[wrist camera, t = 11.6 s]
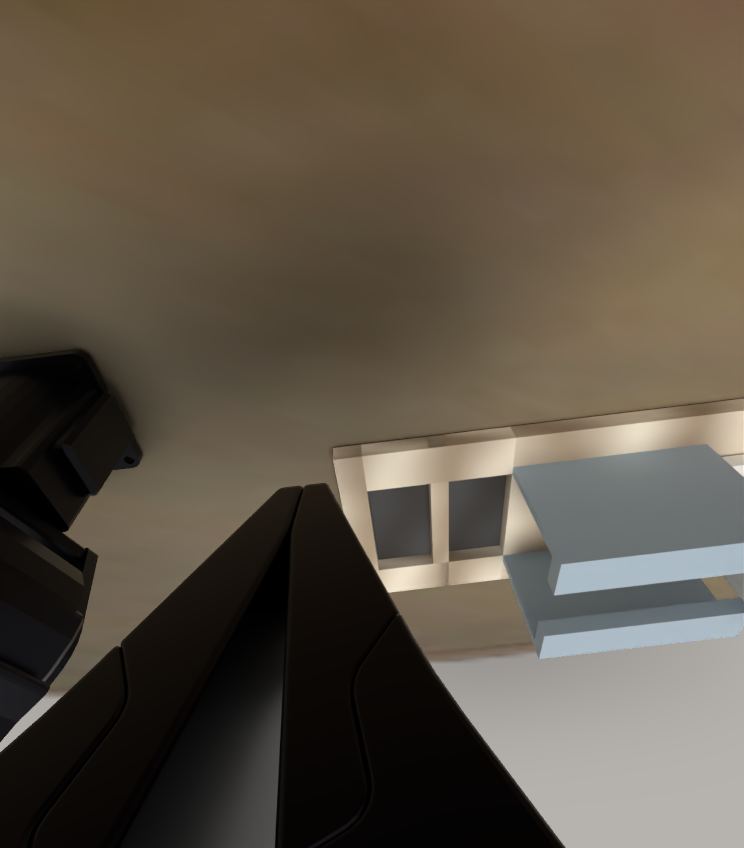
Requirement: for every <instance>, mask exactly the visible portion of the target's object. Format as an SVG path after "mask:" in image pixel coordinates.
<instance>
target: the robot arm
mask: <svg viewBox="0 0 744 848" xmlns="http://www.w3.org/2000/svg"><path fill="white" fill-rule="evenodd" d="M74 359H77V360H79V361H80V362H81V363H82V365H80V364H78V363H76V361H75V360H74ZM128 456H130V457H132V458H133V459H131V458H129V457H128ZM141 460H142V454H141V452H140V450H139V448H138V446H137V444H136V442H135V440H134V438H133V433H132V431H131V429H130V427H129V426H128V424H127V422H126V420H125V418H124V416H123V414H122V412H121V410H120V408H119V406H118V404H117V402H116V401H115V399H114V397H113V395H112V394H111V393H110V392H109V391H108V389H107V387H106V385H105V383H104V381H103V379H102V377H101V375H100V373H99V372H98V370H97V368H96V366H95V364H94V362H93V360H92V358H91V357H90V356H89V355H88V354H87V353H86V352H84V351H81V350H68V351H60V352H52V353H44V354H35V355H27V356H19V357H11V358H3V359H0V742H1V741H2V740H3V738H4V737H5V736H6V735H7V734H8V733H9V731H10V730H11V729H12V728H13V727H14V725H15V724H16V723H17V722H18V721H19V720H20V719H21V718H22V717H23V716H24V715H25V714H26V713H27V712H28V711H29V710H30V709H31V708H32V707H33V706H35V705H36V703H38V702H39V701H40V700H41V699H42V698H43V697H44V696H45V695H46V693H47V692H48V690H49V688H50V685H51V684H52V682H53V681H54V680H55V678H56V677H57V676H58V675H59V673H60V672H61V671H62V669H63V668H64V666H65V665H66V663H67V662H68V660H69V659H70V657H71V655H72V653H73V651H74V649H75V647H76V645H77V643H78V641H79V638H80V635H81V632H82V627H83V623H84V618H85V614H86V609H87V604H88V600H89V595H90V591H91V586H92V582H93V577H94V572H95V568H96V563H97V559H98V555H97V554H95V553H94V552H93V551H91V550H90V549H89V548H85V549H84V548H83V547H81V546H80V545H79V544H77V543H76V542H75V541H73V540H72V539H71V538H69V537H68V536H66V535H65V534H64V533H62V532H66V531H68V529H69V528H70V526H71V525H72V523H73V522H74V520H75V518H76V517H77V515H78V514H79V512H80V511H81V509H82V508H83V506H84V505H85V503H86V501H87V500H88V498H89V497H90V496H94V495H97V494H98V492H99V491H100V489H101V488H102V486H103V484H104V483H105V481H106V480H107V478H108V477H109V475H110V473H111V472H112V470H117V469H126V468H134V467H137V466H138V465H139V464H140V462H141ZM0 848H565V846H564V845H563V844H562V843H561V841H560V840H559V839H558V837H557V836H556V835H555V833H554V832H553V831H552V829H551V828H550V827H549V825H548V824H547V823H546V821H545V820H544V819H543V817H542V816H541V815H540V813H539V812H538V811H537V809H536V808H535V807H534V805H533V804H532V803H531V801H530V800H529V799H528V797H527V796H526V795H525V793H524V792H523V791H522V790H521V788H520V787H519V785H518V784H517V783H516V782H515V780H514V779H513V778H512V776H511V775H510V774H509V772H508V771H507V770H506V768H505V767H504V766H503V764H502V763H501V762H500V760H499V759H498V758H497V756H496V755H495V754H494V752H493V751H492V750H491V748H490V747H489V746H488V745H487V743H486V742H485V741H484V739H483V738H482V736H481V735H480V734H479V732H478V731H477V730H476V728H475V727H474V726H473V725H472V723H471V722H470V721H469V719H468V718H467V717H466V715H465V714H464V712H463V711H462V710H461V708H460V707H459V705H458V704H457V702H456V701H455V700H454V698H453V697H452V695H451V694H450V692H449V691H448V690H447V688H446V687H445V685H444V684H443V683H442V681H441V680H440V678H439V677H438V675H437V674H436V673H435V671H434V669H433V668H432V666H431V664H430V663H429V661H428V659H427V658H426V656H425V655H424V653H423V651H422V650H421V648H420V646H419V645H418V643H417V641H416V640H415V638H414V636H413V635H412V633H411V631H410V629H409V627H408V626H407V624H406V622H405V620H404V619H403V617H402V616H401V615H400V613H399V611H398V609H397V607H396V606H395V604H394V602H393V600H392V599H391V597H390V595H389V593H388V591H387V590H386V588H385V586H384V584H383V582H382V581H381V579H380V577H379V575H378V573H377V572H376V570H375V568H374V566H373V565H372V563H371V561H370V559H369V557H368V556H367V554H366V552H365V550H364V548H363V547H362V545H361V543H360V541H359V539H358V538H357V536H356V534H355V532H354V531H353V529H352V527H351V525H350V523H349V522H348V520H347V518H346V516H345V514H344V513H343V511H342V509H341V507H340V505H339V504H338V502H337V500H336V498H335V497H334V495H333V493H332V491H331V489H330V488H329V486H328V485H327V484H326V483H320V484H311V485H306V486H305V487H304V488H303V487H301V486H293V487H284V488H280V489H279V490H277V491H276V492H275V493H274V494H273V495H272V496H271V497H270V498H269V499H268V500H267V501H266V502H265V503H264V504H263V505H262V506H261V507H260V508H259V509H258V510H257V511H256V512H255V513H254V514H253V515H252V516H251V517H250V518H249V519H248V520H246V521H245V522H244V523H243V524H242V525H241V526H240V527H239V528H238V529H237V530H236V531H235V532H234V533H233V534H232V535H231V536H230V537H229V538H228V539H227V540H226V541H225V542H224V543H223V544H222V545H221V546H220V547H219V548H218V549H217V550H216V551H215V552H213V553H212V554H211V555H210V556H209V557H208V558H207V559H206V560H205V561H204V562H203V563H202V564H201V565H200V566H199V567H198V568H197V569H196V570H195V571H194V572H193V573H192V574H191V575H190V576H189V577H188V578H187V579H186V580H185V581H184V582H183V583H182V584H180V585H179V586H178V587H177V588H176V589H175V590H174V591H173V592H172V593H171V594H170V595H169V596H168V597H167V598H166V599H165V600H164V601H163V602H162V603H161V604H160V605H159V606H158V607H157V608H156V609H155V610H154V611H153V612H152V613H151V614H150V615H149V616H148V617H146V618H145V619H144V620H143V621H142V622H141V623H140V624H139V625H138V626H137V627H136V628H135V629H134V630H133V631H132V632H131V633H130V634H129V635H128V636H127V637H126V638H125V639H124V640H123V641H122V642H121V647H119V646H116V647H114V648H113V649H112V650H111V651H110V652H109V653H108V654H107V655H106V656H105V657H104V658H103V659H102V660H101V661H100V662H99V663H98V664H97V665H96V666H95V667H94V668H92V669H91V670H90V671H89V672H88V673H87V674H86V675H85V676H84V677H83V678H82V679H81V680H80V681H79V682H78V683H77V684H75V685H74V686H73V687H72V688H71V689H70V690H69V691H68V692H67V693H66V694H65V695H64V696H63V697H62V698H60V699H59V700H58V701H57V702H56V703H55V704H54V705H53V706H52V707H51V708H50V709H49V710H48V711H47V712H46V713H44V714H43V715H42V716H41V717H40V718H39V719H38V720H37V721H35V722H34V723H33V724H32V725H31V726H30V727H29V728H27V729H26V730H25V731H24V732H23V733H22V734H21V735H20V736H18V737H17V738H16V739H15V740H14V741H13V742H12V743H10V744H9V745H8V746H7V747H6V748H5V749H4V750H3V751H1V752H0Z"/></svg>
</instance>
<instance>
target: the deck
mask: <svg viewBox="0 0 744 848" xmlns="http://www.w3.org/2000/svg"><path fill="white" fill-rule="evenodd" d="M702 444H707V445H708V446H710V447H711V448H712V449H713V450H714V451H715V452H716V453H717V454H719V455H720V456H721V457H725V456H734V455H742V454H744V399H736V400H727V401H719V402H711V403H702V404H694V405H686V406H677V407H669V408H661V409H652V410H644V411H636V412H628V413H619V414H611V415H603V416H594V417H586V418H578V419H569V420H561V421H553V422H544V423H536V424H528V425H519V426H511V427H503V428H495V429H486V430H478V431H470V432H461V433H453V434H445V435H436V436H428V437H420V438H411V439H403V440H395V441H387V442H378V443H370V444H362V445H353V446H345V447H337V448H333V462H334V467H335V472H336V477H337V482H338V487H339V492H340V497H341V502H342V507H343V512H344V514H345V516H346V518H347V520H348V522H349V523H350V525H351V527H352V529H353V531H354V532H355V534H356V536H357V538H358V539H359V541H360V543H361V545H362V547H363V548H364V550H365V552H366V554H367V556H368V557H369V559H370V561H371V563H372V565H373V566H374V568H375V570H376V572H377V573H378V575H379V577H380V579H381V581H382V582H383V584H384V586H385V588H386V590H387V591H388V592H397V591H405V590H414V589H422V588H431V587H439V586H447V585H456V584H464V583H473V582H481V581H490V580H498V579H507V578H509V576H508V574H507V571H506V568H505V565H504V563H503V555H512V554H520V553H529V552H537V551H546V550H549V549H548V547H547V545H546V543H545V541H544V539H543V536H542V534H541V532H540V530H539V528H538V526H537V524H536V522H535V520H534V518H533V516H532V514H531V512H530V510H529V508H528V506H527V503H526V501H525V499H524V497H523V495H522V493H521V491H520V489H519V487H518V485H517V483H516V481H515V479H514V477H513V475H512V472H513V467H519V466H527V465H535V464H544V463H552V462H560V461H569V460H577V459H585V458H594V457H602V456H611V455H619V454H627V453H636V452H644V451H652V450H661V449H669V448H677V447H686V446H694V445H702Z"/></svg>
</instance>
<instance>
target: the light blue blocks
mask: <svg viewBox="0 0 744 848" xmlns="http://www.w3.org/2000/svg"><path fill="white" fill-rule="evenodd" d="M512 475H513V477H514V479H515V481H516V483H517V485H518V487H519V489H520V491H521V493H522V495H523V497H524V499H525V501H526V503H527V506H528V508H529V510H530V512H531V514H532V516H533V518H534V520H535V522H536V524H537V526H538V528H539V530H540V532H541V534H542V536H543V539H544V541H545V543H546V545H547V547H548V549H549V550H546V551H537V552H529V553H520V554H512V555H503V563H504V565H505V568H506V571H507V574H508V576H509V579H510V582H511V584H512V587H513V590H514V593H515V595H516V598H517V601H518V603H519V606H520V609H521V611H522V614H523V617H524V620H525V622H526V625H527V628H528V630H529V633H530V636H531V639H532V641H533V644H534V647H535V649H536V652H537V655H538V657H539V659H543V658H551V657H560V656H569V655H577V654H585V653H594V652H603V651H611V650H620V649H629V648H636V647H646V646H654V645H663V644H672V643H680V642H688V641H697V640H705V639H713V638H723V637H731V636H737V635H738V634H739V633H740V631H741V630H742V628H743V627H744V601H743V600H742V599H741V598H733V599H725V600H716V598H715V597H714V596H713V594H712V593H711V592H710V591H709V589H708V588H707V587H706V585H705V584H704V583H703V582H702V580H701V579H700V578H707V577H715V576H724V575H732V574H740V573H744V477H743V476H742V475H741V474H740V473H739V472H738V471H736V470H735V469H734V468H733V467H732V466H731V465H730V464H729V463H727V462H726V461H725V460H724V459H723V458H722V457H721V456H720V455H719V454H717V453H716V452H715V451H714V450H713V449H712V448H711V447H710V446H708V445H707V444H702V445H694V446H686V447H677V448H669V449H661V450H652V451H644V452H636V453H627V454H619V455H611V456H602V457H594V458H585V459H577V460H569V461H560V462H552V463H544V464H535V465H527V466H519V467H513V472H512Z"/></svg>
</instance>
